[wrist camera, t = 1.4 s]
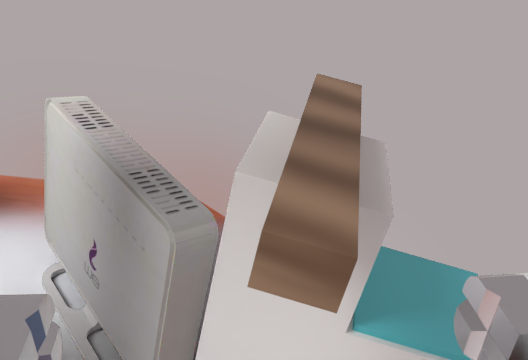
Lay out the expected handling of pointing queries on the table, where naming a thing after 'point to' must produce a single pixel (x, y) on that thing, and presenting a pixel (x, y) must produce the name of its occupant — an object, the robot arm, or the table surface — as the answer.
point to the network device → (123, 238)
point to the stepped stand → (358, 289)
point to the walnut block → (315, 203)
